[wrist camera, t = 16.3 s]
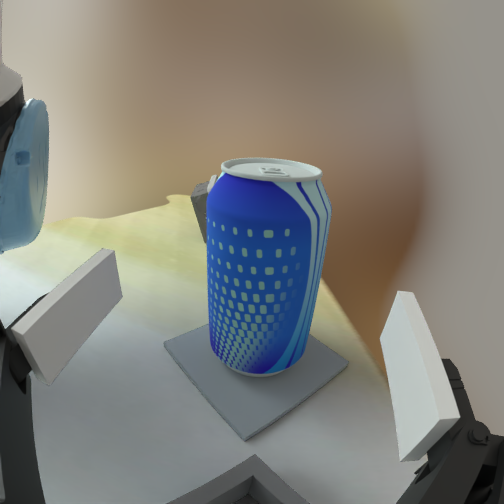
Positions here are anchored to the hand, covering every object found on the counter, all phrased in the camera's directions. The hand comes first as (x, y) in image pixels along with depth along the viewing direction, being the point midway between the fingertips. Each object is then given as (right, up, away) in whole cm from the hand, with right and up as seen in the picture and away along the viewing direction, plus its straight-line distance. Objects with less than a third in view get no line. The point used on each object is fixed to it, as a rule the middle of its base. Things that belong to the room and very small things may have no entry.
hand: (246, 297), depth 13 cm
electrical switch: (-6, +5, +37) cm, 38 cm away
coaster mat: (+1, -8, +13) cm, 15 cm away
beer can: (+1, -7, +13) cm, 15 cm away
